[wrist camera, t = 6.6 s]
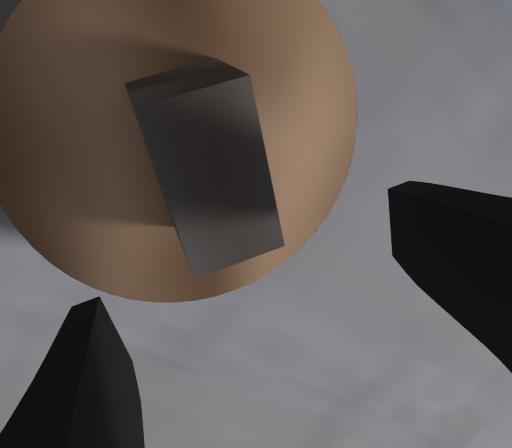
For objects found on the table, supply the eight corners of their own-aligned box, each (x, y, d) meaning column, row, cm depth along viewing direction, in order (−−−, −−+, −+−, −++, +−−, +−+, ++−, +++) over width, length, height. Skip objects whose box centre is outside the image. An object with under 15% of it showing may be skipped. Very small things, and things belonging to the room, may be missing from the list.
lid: (81, 334, 17) (81, 422, 14) (-109, -13, 11) (-200, -18, 8) (359, 230, 19) (420, 283, 16) (326, -107, 13) (413, -144, 10)
